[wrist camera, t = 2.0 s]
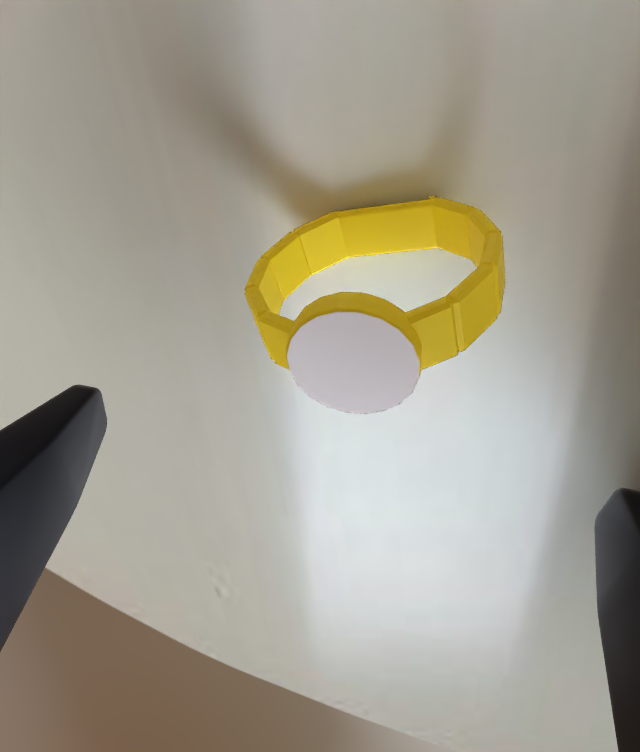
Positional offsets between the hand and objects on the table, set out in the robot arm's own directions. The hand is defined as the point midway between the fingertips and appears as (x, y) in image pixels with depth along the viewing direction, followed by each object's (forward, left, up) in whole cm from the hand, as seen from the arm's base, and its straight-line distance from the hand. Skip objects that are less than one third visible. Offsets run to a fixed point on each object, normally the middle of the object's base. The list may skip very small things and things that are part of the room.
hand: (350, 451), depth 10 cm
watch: (0, 0, -8) cm, 8 cm away
